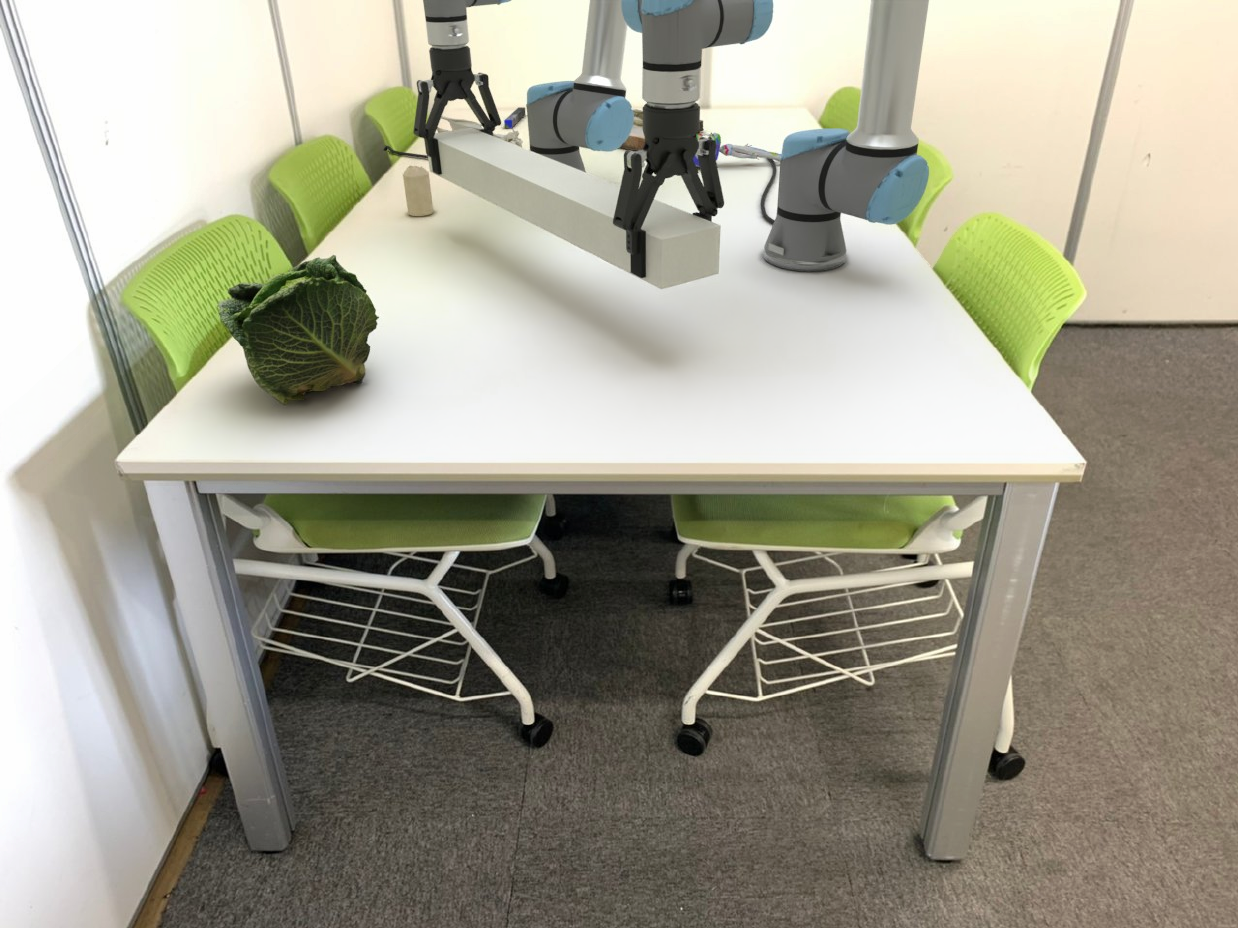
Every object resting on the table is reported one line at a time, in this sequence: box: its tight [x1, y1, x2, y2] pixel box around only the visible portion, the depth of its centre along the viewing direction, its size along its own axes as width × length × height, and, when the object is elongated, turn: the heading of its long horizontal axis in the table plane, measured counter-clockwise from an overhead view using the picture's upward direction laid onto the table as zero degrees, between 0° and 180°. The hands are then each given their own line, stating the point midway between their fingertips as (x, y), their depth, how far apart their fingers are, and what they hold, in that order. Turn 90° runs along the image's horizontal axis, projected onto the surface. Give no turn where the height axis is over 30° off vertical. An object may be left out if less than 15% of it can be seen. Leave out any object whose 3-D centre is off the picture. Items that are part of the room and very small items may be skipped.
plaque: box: [618, 108, 705, 151], centre depth 257 cm, size 30×7×30 cm
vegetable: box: [216, 254, 380, 405], centre depth 123 cm, size 20×19×20 cm
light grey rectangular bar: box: [427, 128, 722, 290], centre depth 151 cm, size 79×10×7 cm, turn 34°
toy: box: [693, 132, 782, 168], centre depth 228 cm, size 10×8×30 cm
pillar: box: [503, 106, 527, 129], centre depth 277 cm, size 2×2×20 cm
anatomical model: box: [436, 115, 524, 148], centre depth 243 cm, size 15×9×25 cm
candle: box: [402, 165, 434, 217], centre depth 195 cm, size 6×6×10 cm
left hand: (462, 168), depth 177 cm, fingers closed on light grey rectangular bar, 10 cm apart
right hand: (669, 266), depth 128 cm, fingers closed on light grey rectangular bar, 10 cm apart
